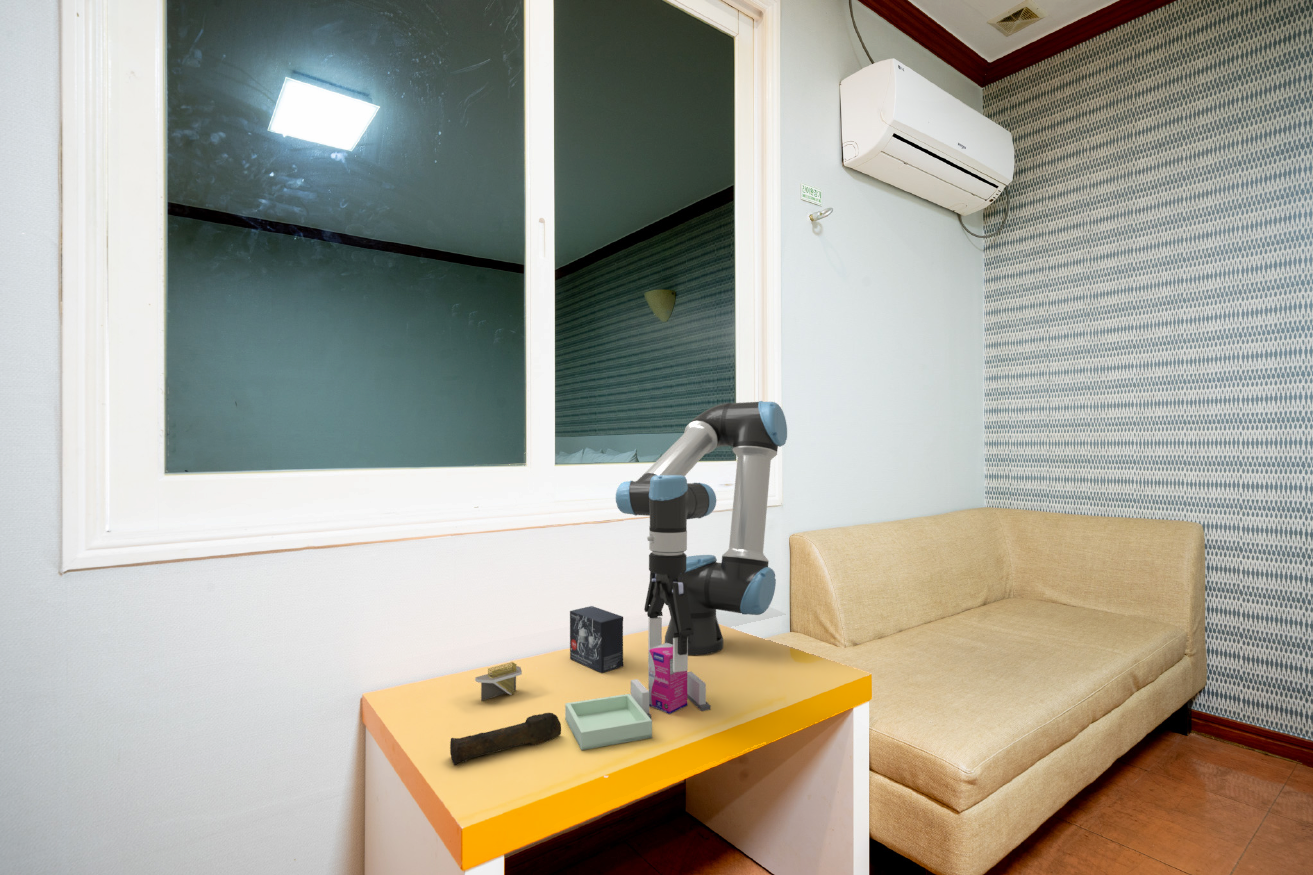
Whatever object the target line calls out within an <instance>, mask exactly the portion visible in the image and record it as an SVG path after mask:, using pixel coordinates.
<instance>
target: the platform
mask: <svg viewBox="0 0 1313 875" xmlns="http://www.w3.org/2000/svg"><path fill="white" fill-rule="evenodd" d="M522 672H523V671H522V667H521V666H518V665H517V663H516V662H513V661H510V662H507V663H504V664H500V665H496V666H492V667H490V668H488V667H487V674H482V675H479V676H476V677H475V679H474V681H475V682H477V683H479V684H480V683H481V684H480V687H481V688H480V690H481V691H480V693H481V695H480V698H481V699H480V700H481V702H482V701H485V700H489V699H492V698H495V697H499V696H503V695H505V694H508V695H514V694H515V693H514V692H515V691H516V690H517V677H518V676H521V675H523V673H522Z"/></svg>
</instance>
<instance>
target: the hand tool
mask: <svg viewBox="0 0 1313 875" xmlns="http://www.w3.org/2000/svg"><path fill="white" fill-rule="evenodd" d="M561 725H562V723H561V722H560V719H559V717H558V716H557V714H554V713H553V712H544V713H539V714H532V715H531V716H528V717H526V720H525V721H524V722H521V723H517V724H514V725H510V726H506V727H502V728H497V729H494V730H490V731H487V732H479V733H476V734H473V735H467V736H464V737H459V738H457V737H456V738H455V737H451V738H450V742H449V746H450V747H449V751H450V752H449V753H450V758H451V761H452V764H453V765H454V766H456V765H457V764H459V763H460V762H462V763H466V762H467V761H468V760H470V759H473V758H477V757H481V756H484V755H487V754H492V753H497V752H499V751H504V750H508V749H511V748H514V747H518V746H522V745H529V746H531V747H534V746H537V745H542V744H544V743H546V742H549V741H552V740H553V739H555V738H557V737H559V736H560V735H562V734H561V733H562V726H561Z"/></svg>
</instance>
